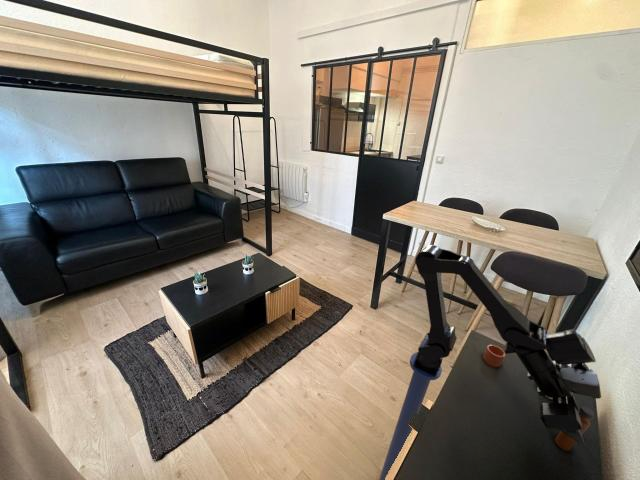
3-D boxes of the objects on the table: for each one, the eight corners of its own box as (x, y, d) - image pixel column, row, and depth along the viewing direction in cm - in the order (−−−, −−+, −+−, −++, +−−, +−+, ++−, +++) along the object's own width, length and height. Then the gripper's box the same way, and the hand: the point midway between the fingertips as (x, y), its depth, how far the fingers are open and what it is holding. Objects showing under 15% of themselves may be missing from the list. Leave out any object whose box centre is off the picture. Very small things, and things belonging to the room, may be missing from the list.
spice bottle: (556, 446, 61) (582, 412, 56) (553, 435, 63) (578, 402, 58) (571, 453, 60) (599, 420, 55) (568, 442, 62) (594, 409, 57)
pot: (482, 362, 83) (487, 352, 81) (482, 352, 87) (487, 342, 85) (500, 369, 81) (505, 359, 79) (499, 358, 85) (504, 349, 83)
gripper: (590, 391, 48) (642, 469, 46) (576, 336, 62) (616, 395, 60) (523, 393, 55) (566, 460, 54) (524, 344, 69) (558, 396, 67)
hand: (578, 425), depth 59 cm, fingers open, 9 cm apart
